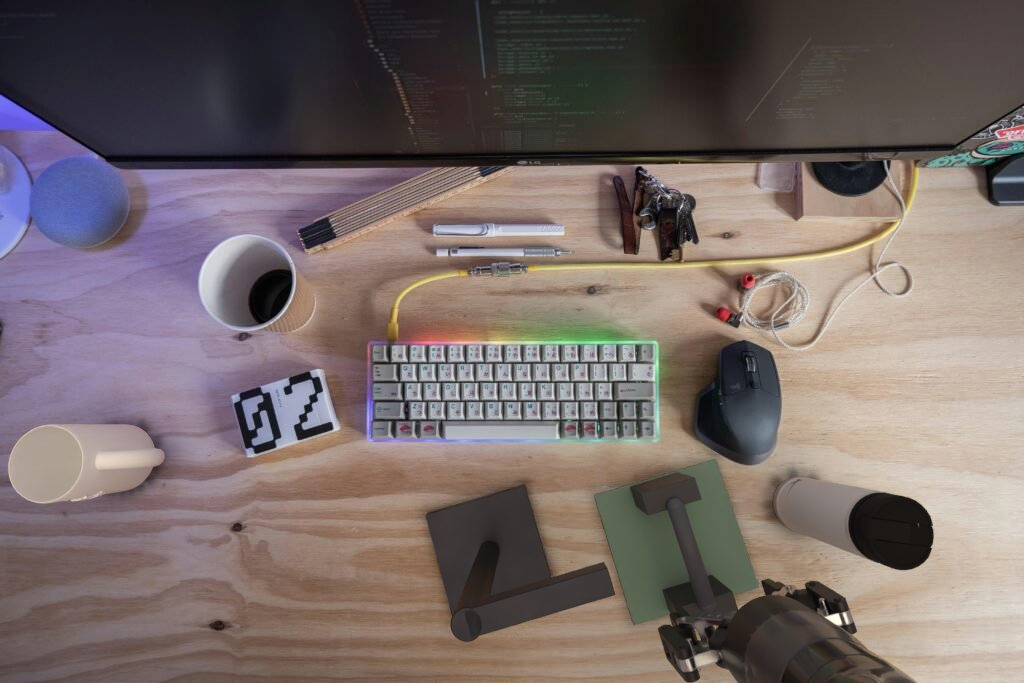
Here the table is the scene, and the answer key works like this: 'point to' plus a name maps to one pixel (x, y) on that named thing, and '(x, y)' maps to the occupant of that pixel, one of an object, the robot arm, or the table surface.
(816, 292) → the table surface
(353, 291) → the table surface
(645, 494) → the square-ended dumbbell
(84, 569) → the table surface
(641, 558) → the desk mat
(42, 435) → the mug
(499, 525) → the stand
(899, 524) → the travel mug
